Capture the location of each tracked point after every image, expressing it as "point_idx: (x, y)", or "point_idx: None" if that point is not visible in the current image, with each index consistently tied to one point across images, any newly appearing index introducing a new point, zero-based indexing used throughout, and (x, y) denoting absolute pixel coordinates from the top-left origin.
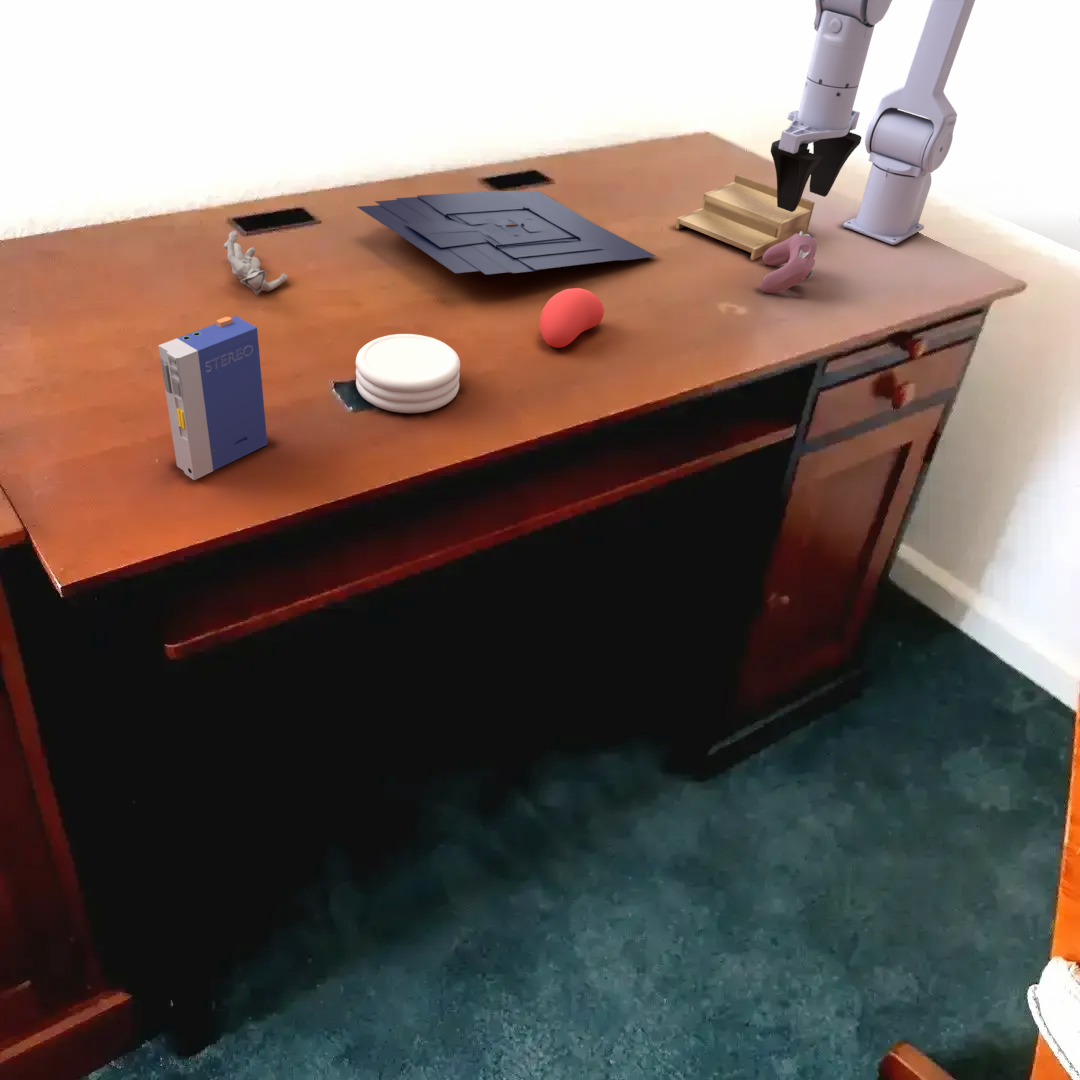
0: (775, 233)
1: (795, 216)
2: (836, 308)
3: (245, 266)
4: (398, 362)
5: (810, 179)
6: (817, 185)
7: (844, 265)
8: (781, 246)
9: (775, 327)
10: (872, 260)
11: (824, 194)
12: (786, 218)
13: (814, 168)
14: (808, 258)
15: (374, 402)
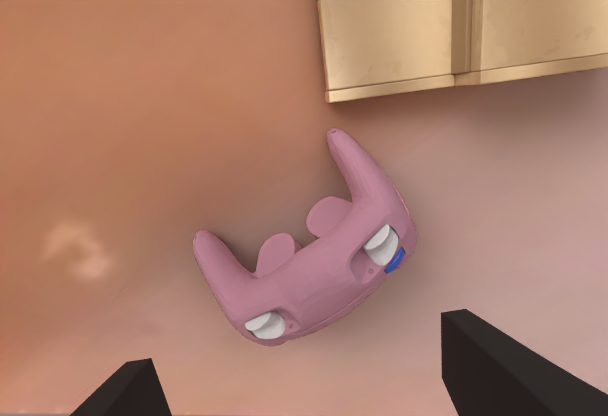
0: (456, 73)
1: (573, 66)
2: (295, 347)
3: None
4: None
5: (473, 342)
6: (461, 370)
7: (495, 236)
8: (351, 178)
9: (115, 342)
10: (572, 250)
11: (446, 385)
12: (532, 61)
13: (523, 402)
14: (264, 340)
15: None
